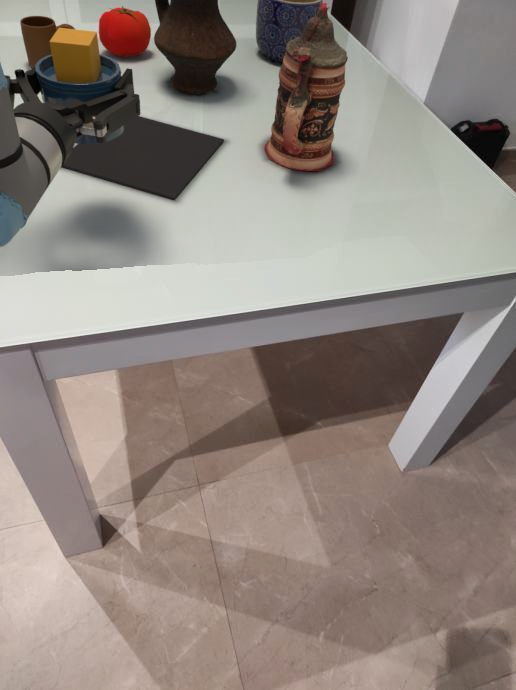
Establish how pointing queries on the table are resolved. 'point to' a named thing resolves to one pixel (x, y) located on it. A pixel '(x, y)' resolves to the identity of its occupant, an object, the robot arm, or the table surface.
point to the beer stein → (308, 97)
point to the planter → (282, 24)
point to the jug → (193, 42)
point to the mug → (38, 36)
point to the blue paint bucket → (78, 88)
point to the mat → (147, 157)
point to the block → (75, 55)
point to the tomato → (124, 32)
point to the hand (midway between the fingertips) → (89, 72)
